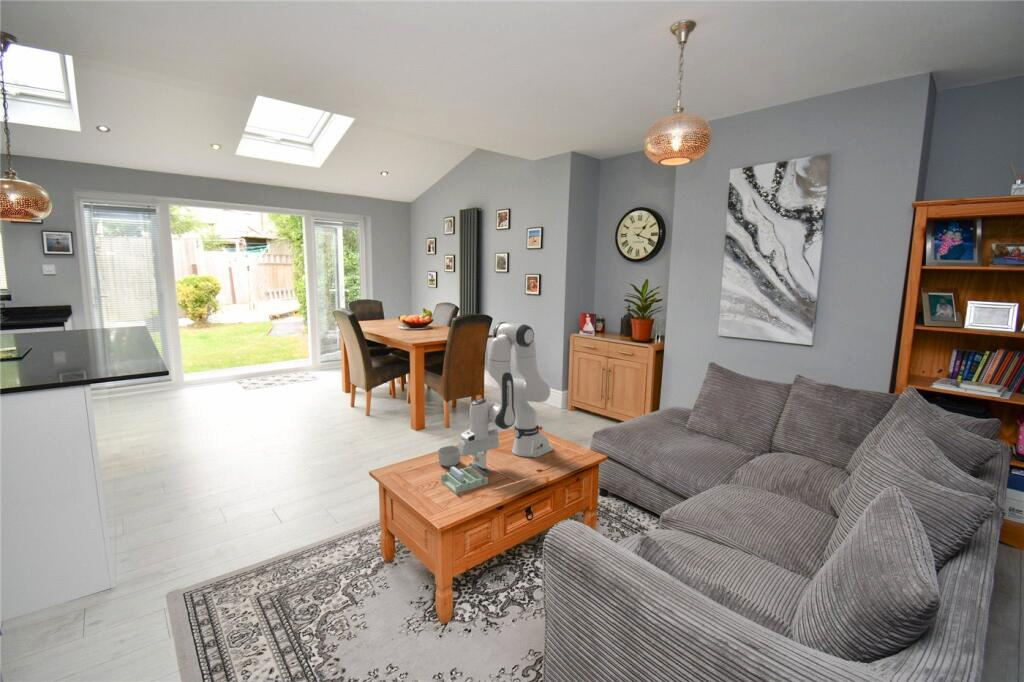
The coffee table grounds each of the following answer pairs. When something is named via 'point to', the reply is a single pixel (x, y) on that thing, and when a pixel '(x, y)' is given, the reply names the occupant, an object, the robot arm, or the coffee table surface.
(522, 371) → the robot arm
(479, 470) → the stand
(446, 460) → the teacup
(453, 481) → the rack
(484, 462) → the plate
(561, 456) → the coffee table surface
